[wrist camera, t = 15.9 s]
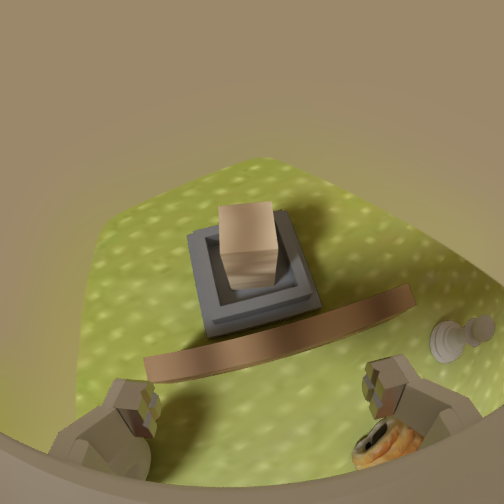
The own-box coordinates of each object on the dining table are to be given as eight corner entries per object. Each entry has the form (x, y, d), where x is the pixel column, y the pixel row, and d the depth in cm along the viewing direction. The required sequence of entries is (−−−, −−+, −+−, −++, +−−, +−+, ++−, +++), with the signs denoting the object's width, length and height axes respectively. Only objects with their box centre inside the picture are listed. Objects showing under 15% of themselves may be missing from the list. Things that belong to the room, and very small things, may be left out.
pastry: (436, 451, 19) (455, 456, 15) (393, 498, 17) (408, 510, 13) (387, 406, 22) (404, 409, 18) (339, 457, 20) (350, 468, 17)
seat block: (286, 215, 31) (287, 199, 28) (320, 308, 26) (326, 300, 24) (188, 239, 30) (182, 225, 28) (209, 339, 26) (202, 334, 23)
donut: (135, 416, 22) (77, 427, 13) (167, 432, 21) (118, 453, 12) (113, 488, 18) (59, 515, 9) (141, 503, 17) (94, 540, 8)
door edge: (381, 302, 26) (407, 283, 21) (388, 320, 25) (416, 304, 20) (167, 363, 24) (143, 357, 19) (172, 383, 24) (148, 383, 18)
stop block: (269, 248, 28) (271, 201, 21) (273, 286, 27) (278, 248, 19) (229, 252, 28) (218, 206, 21) (231, 290, 27) (219, 253, 19)
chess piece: (434, 315, 25) (478, 292, 18) (463, 330, 24) (508, 310, 17) (423, 356, 23) (470, 342, 16) (453, 368, 22) (501, 358, 15)
